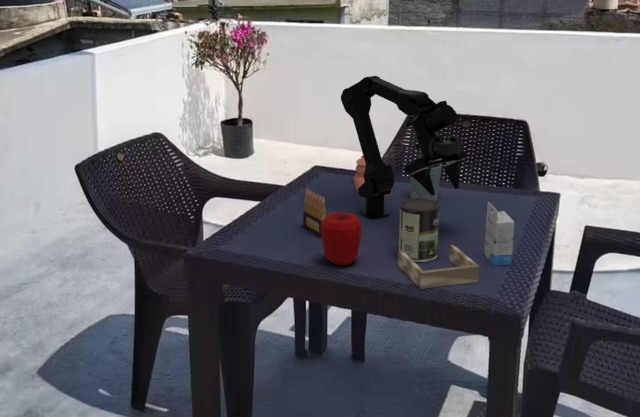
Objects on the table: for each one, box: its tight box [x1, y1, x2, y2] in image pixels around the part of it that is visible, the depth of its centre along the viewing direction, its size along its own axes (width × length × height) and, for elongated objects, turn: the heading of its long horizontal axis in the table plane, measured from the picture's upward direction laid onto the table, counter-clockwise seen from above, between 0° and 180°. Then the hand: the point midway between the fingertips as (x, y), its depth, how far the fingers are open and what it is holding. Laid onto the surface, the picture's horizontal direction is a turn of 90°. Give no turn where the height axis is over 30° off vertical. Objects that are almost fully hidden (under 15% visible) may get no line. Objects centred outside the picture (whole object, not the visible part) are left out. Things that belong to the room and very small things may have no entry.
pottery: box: [353, 155, 393, 197], centre depth 261 cm, size 18×10×10 cm, turn 16°
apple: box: [321, 211, 362, 266], centre depth 200 cm, size 10×10×14 cm
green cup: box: [409, 160, 443, 202], centre depth 249 cm, size 10×10×12 cm
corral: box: [397, 244, 481, 290], centre depth 195 cm, size 15×15×4 cm
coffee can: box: [398, 198, 441, 263], centre depth 205 cm, size 10×10×14 cm
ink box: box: [483, 200, 515, 267], centre depth 201 cm, size 9×5×15 cm, turn 5°
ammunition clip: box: [302, 187, 327, 239], centre depth 222 cm, size 11×2×12 cm, turn 30°
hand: (445, 191), depth 212 cm, fingers open, 9 cm apart
